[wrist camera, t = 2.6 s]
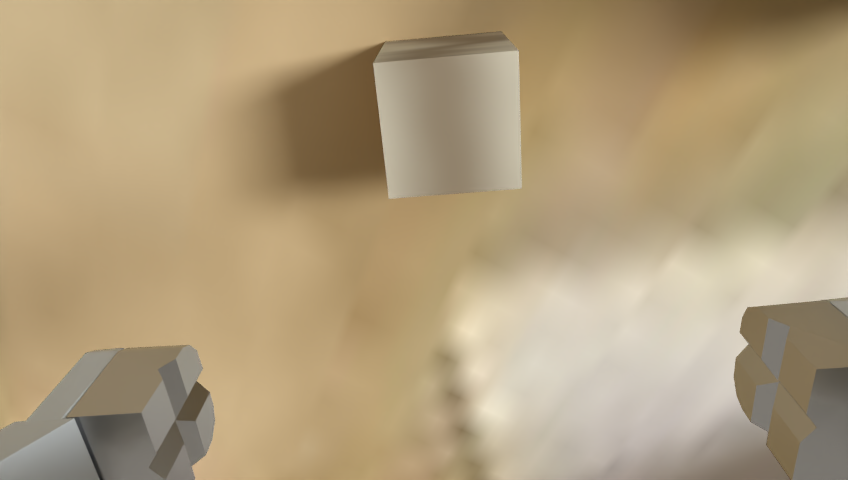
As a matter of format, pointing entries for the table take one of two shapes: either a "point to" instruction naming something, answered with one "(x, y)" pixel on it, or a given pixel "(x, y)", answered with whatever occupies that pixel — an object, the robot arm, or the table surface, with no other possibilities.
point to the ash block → (449, 114)
